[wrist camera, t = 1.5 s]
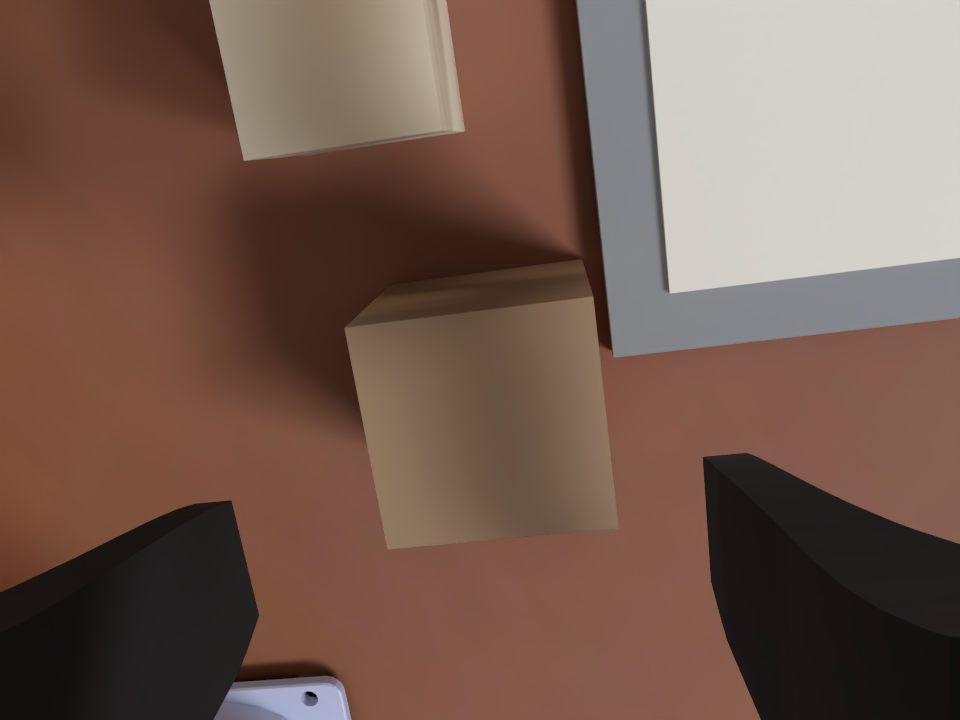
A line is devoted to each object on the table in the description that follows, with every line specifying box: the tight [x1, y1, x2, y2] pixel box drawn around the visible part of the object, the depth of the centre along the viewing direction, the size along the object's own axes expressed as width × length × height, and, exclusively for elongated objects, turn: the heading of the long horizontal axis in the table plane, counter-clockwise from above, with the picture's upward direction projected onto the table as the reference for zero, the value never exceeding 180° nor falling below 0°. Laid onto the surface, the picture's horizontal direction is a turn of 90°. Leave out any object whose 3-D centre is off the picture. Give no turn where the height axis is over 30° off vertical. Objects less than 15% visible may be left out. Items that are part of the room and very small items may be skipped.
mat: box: [576, 0, 960, 358], centre depth 18 cm, size 10×10×1 cm
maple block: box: [209, 0, 465, 161], centre depth 17 cm, size 4×4×4 cm
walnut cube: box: [344, 259, 619, 549], centre depth 19 cm, size 5×5×5 cm
